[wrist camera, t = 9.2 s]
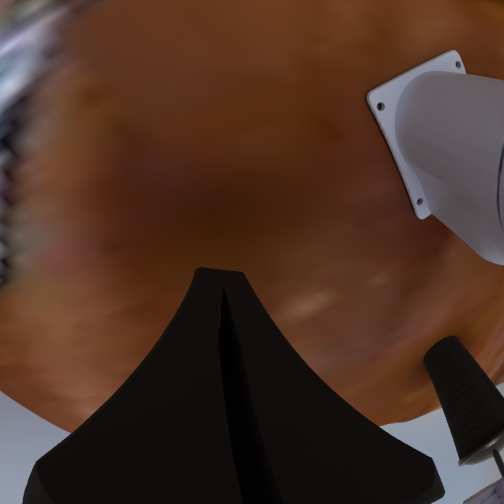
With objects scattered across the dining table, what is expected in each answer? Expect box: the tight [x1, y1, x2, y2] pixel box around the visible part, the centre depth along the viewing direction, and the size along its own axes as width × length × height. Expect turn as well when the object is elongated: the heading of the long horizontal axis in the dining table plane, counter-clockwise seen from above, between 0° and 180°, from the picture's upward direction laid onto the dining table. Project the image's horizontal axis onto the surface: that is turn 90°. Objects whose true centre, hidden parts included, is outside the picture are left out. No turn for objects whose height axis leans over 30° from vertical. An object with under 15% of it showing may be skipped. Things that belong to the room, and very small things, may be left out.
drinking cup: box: [424, 336, 504, 477], centre depth 20 cm, size 8×8×20 cm
